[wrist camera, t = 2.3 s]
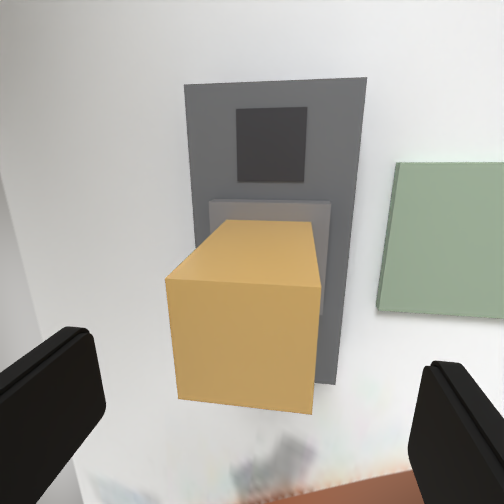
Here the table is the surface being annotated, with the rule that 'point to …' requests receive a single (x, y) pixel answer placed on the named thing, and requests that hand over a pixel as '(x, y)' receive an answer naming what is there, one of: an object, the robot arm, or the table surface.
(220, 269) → the plug
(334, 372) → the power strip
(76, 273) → the table surface
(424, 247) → the mat
